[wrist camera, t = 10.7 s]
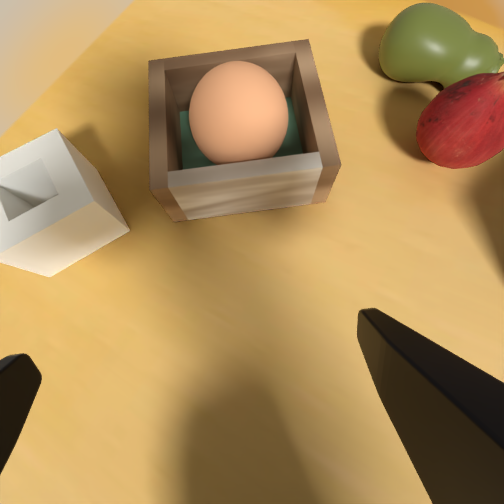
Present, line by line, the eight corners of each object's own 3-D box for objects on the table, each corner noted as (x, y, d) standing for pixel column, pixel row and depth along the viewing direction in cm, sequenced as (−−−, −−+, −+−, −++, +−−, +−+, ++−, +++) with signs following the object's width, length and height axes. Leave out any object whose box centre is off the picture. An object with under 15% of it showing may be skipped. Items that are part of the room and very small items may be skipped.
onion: (385, 162, 23) (442, 76, 16) (421, 118, 25) (490, 19, 17) (449, 201, 22) (545, 127, 14) (484, 153, 23) (590, 62, 16)
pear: (410, -24, 22) (525, 22, 22) (374, 41, 27) (468, 78, 28) (397, 22, 21) (521, 71, 21) (362, 83, 26) (462, 122, 26)
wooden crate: (325, 202, 23) (341, 164, 18) (173, 222, 23) (149, 190, 18) (300, 94, 26) (308, 39, 21) (169, 111, 26) (148, 60, 21)
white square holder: (130, 230, 23) (94, 200, 18) (49, 277, 22) (-11, 259, 17) (97, 169, 25) (56, 128, 20) (21, 210, 24) (-40, 176, 19)
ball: (253, 201, 23) (254, 160, 16) (182, 157, 23) (153, 99, 16) (298, 134, 24) (317, 68, 17) (228, 93, 24) (220, 12, 17)
